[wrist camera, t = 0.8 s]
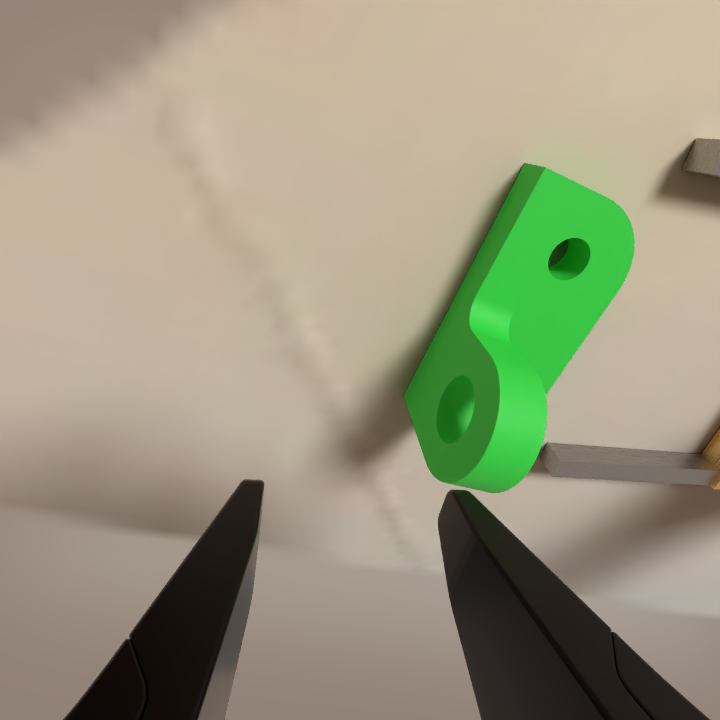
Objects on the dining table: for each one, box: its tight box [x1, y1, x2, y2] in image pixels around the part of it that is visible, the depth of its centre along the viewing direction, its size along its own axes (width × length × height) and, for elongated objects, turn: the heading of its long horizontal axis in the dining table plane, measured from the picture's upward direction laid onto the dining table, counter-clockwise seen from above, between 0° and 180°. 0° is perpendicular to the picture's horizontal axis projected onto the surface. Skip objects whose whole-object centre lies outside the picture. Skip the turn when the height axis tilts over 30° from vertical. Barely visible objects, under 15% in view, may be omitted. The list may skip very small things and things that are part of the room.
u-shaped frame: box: [540, 138, 720, 490], centre depth 22 cm, size 12×17×2 cm
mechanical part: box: [404, 163, 634, 493], centre depth 18 cm, size 12×6×8 cm, turn 158°
